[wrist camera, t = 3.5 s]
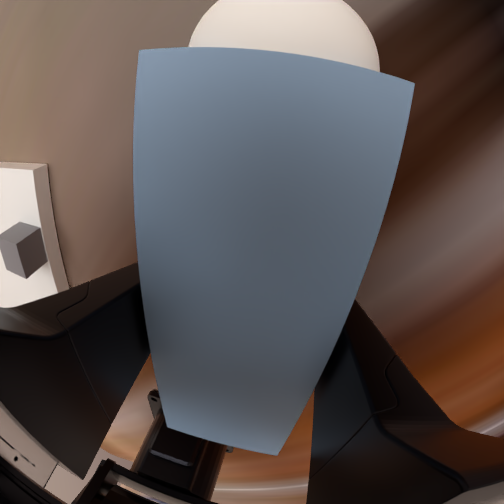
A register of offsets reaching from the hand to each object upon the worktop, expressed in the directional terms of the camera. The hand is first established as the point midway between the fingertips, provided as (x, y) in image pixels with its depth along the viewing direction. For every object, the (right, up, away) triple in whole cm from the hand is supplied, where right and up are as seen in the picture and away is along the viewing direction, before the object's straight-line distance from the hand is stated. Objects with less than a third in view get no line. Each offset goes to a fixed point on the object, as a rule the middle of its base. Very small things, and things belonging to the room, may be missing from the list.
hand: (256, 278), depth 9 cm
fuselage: (0, +1, 0) cm, 1 cm away
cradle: (-16, -2, +7) cm, 18 cm away
